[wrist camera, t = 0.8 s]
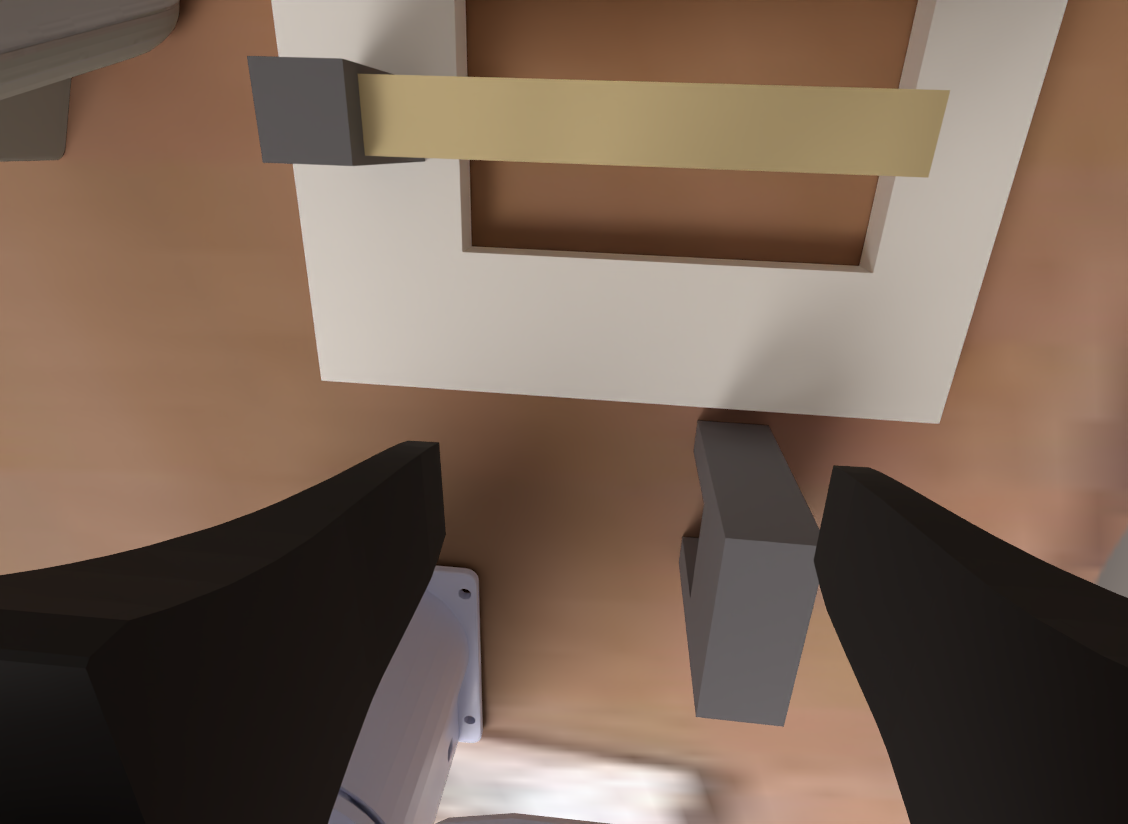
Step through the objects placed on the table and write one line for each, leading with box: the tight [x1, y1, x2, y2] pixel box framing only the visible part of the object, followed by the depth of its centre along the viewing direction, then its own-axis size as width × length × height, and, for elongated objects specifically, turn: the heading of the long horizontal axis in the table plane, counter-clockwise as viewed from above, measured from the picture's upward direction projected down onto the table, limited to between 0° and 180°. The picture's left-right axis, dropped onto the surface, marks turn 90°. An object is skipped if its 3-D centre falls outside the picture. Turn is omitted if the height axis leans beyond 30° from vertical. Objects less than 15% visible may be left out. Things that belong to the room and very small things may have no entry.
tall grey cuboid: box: [679, 421, 820, 727], centre depth 19 cm, size 6×2×7 cm, turn 178°
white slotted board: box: [247, 0, 1068, 424], centre depth 15 cm, size 14×20×6 cm
